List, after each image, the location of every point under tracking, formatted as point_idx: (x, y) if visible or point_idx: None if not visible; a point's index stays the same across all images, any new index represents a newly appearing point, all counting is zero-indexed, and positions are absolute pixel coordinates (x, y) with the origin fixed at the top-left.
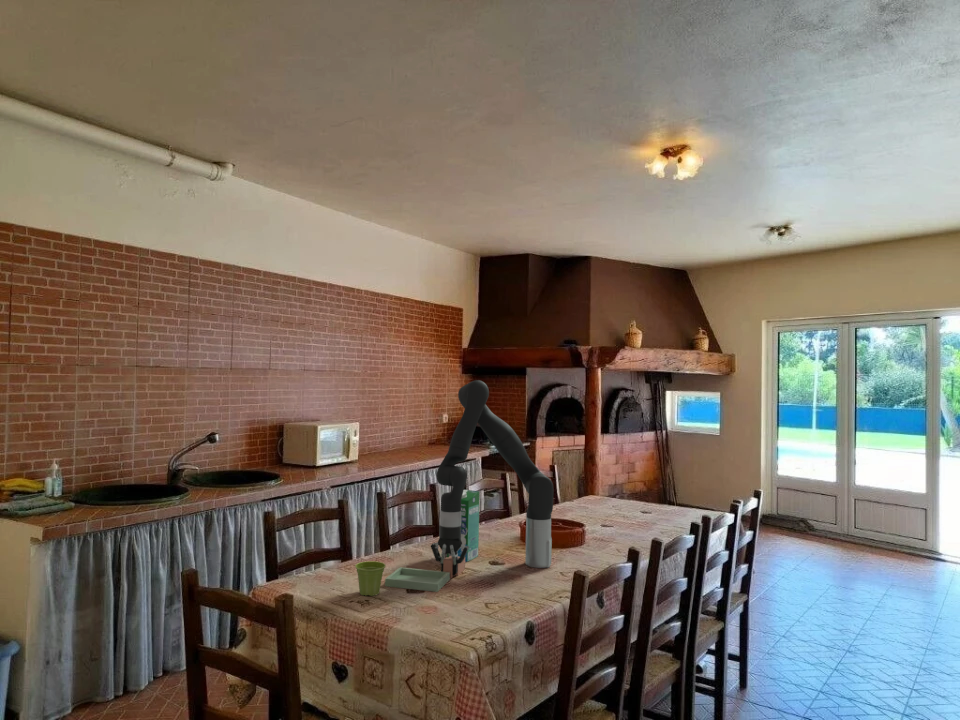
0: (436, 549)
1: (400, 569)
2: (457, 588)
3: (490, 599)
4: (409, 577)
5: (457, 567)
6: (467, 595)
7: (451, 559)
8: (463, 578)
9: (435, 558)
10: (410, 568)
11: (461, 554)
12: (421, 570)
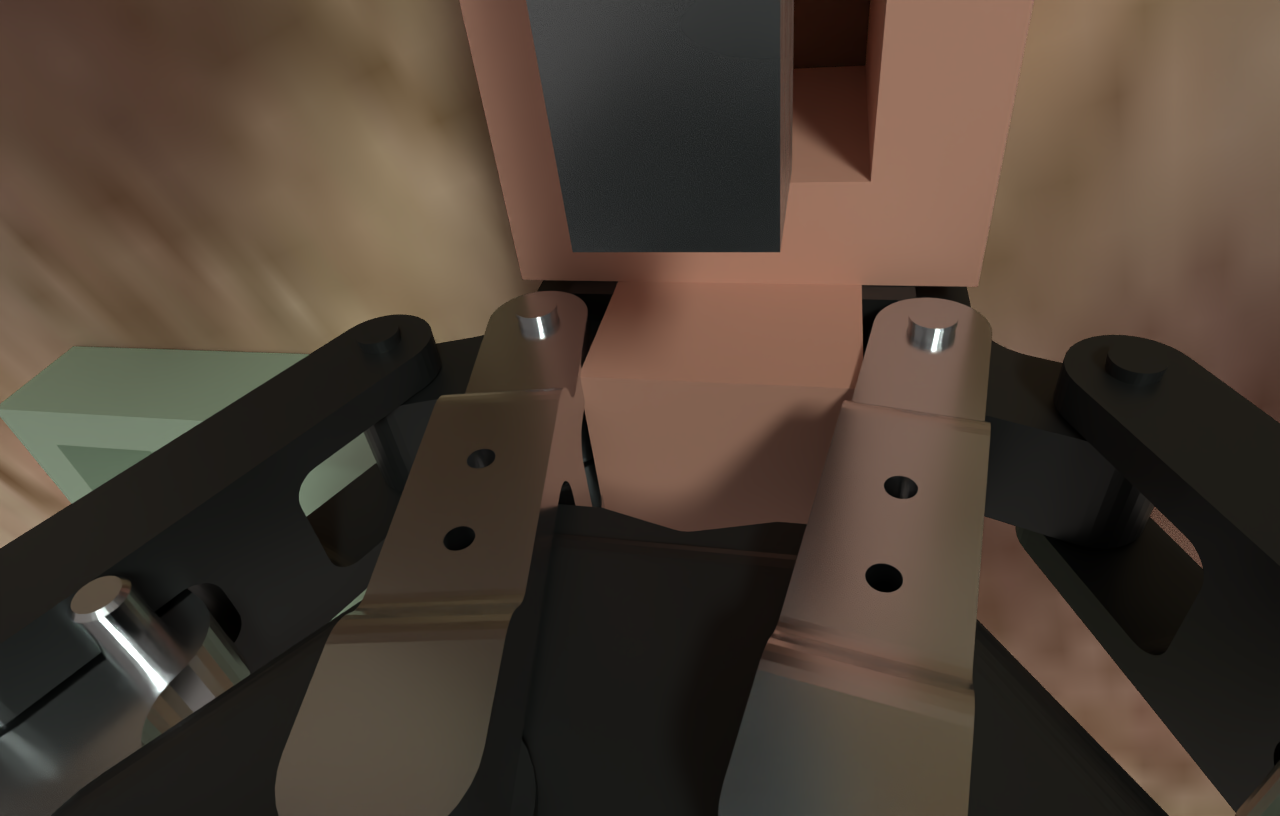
0: (193, 570)
1: (86, 477)
2: (1029, 635)
3: None
4: (304, 492)
5: (960, 291)
6: (1183, 770)
7: (803, 515)
8: (1098, 253)
9: (382, 493)
10: (146, 426)
11: (1201, 749)
12: (338, 462)
